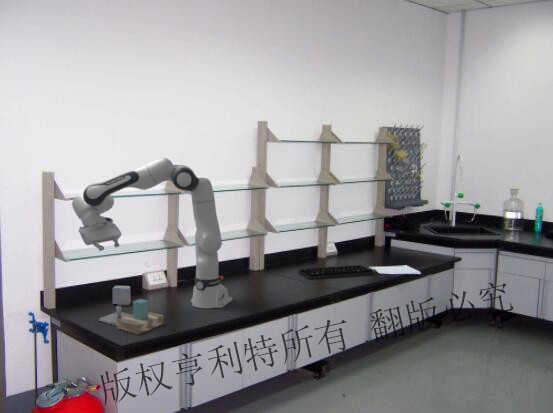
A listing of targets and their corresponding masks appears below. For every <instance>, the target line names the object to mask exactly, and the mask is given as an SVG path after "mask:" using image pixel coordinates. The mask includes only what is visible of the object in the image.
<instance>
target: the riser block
mask: <svg viewBox="0 0 553 413" xmlns="http://www.w3.org/2000/svg"><path fill="white" fill-rule="evenodd" d="M159 325H160V326H162V325H164V315H163V314H158V313H156V312H152V311H148V317H147V318H145V319H142V320H139V319H135V318H133V313H132V314H131V315H129V316H127V317H124V318H121V319H119V320H117V326H116V328H118V329H117V330H119V329H122V330H121V331H123V330H125V331H124V332H126V331H129V332H128V333H130V332H132V333H131V334H134V333H135V334H134V335H137V334H139V335H141V334H143V333H146V332H147V331H150V330H152V329H155V328H157V327H159ZM145 331H146V332H145ZM142 332H143V333H142ZM140 333H141V334H140Z"/></svg>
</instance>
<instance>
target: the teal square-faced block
mask: <svg viewBox="0 0 553 413" xmlns="http://www.w3.org/2000/svg"><path fill="white" fill-rule="evenodd" d="M148 312H149V300H148V299H147V300H146V299H143V298H139V299H137V300H133V301H132V314H133V318H135V319H139V320H142V319H145V318H147V317H148Z"/></svg>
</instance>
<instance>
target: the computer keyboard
mask: <svg viewBox="0 0 553 413" xmlns="http://www.w3.org/2000/svg"><path fill="white" fill-rule="evenodd" d="M298 274H299V275H301V276H302V277H304V278H306V279H307V280H308V281H316V280H330V279H342V278H343V279H344V278H356V277H369V276H370V277H371V276H374V275H375V271H373V270H372V269H369V268H367V267H365V266H364V265H361V264H357V265H356V264H354V265H353V264H351V265H341V266H340V265H339V266H327V267H326V266H324V267H323V266H322V267H314V268H313V267H309V268H308V267H305V268H301V269H298Z"/></svg>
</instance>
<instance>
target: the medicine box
mask: <svg viewBox="0 0 553 413" xmlns="http://www.w3.org/2000/svg"><path fill="white" fill-rule="evenodd" d="M113 304H117V305H116V306H129V305H130V304H131V286H130V285H114V287H112V305H113Z"/></svg>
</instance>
